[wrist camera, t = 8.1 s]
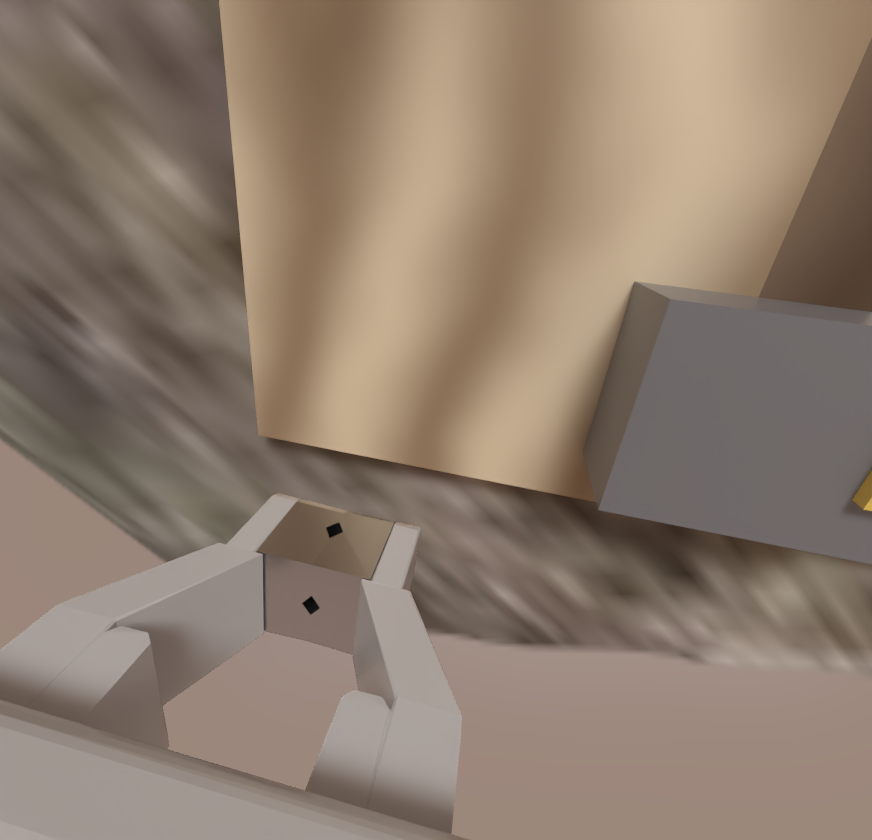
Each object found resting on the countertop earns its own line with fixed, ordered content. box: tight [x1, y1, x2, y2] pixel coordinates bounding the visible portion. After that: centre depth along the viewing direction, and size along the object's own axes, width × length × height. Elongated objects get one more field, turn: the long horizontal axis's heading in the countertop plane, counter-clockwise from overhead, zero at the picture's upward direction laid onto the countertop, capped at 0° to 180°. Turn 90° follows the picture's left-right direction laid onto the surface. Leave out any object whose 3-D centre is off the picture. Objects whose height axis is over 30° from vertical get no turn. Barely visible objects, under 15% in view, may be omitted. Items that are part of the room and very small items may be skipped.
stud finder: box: [583, 281, 872, 564], centre depth 12 cm, size 10×6×4 cm, turn 84°
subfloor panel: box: [219, 0, 872, 502], centre depth 13 cm, size 26×16×1 cm, turn 83°
